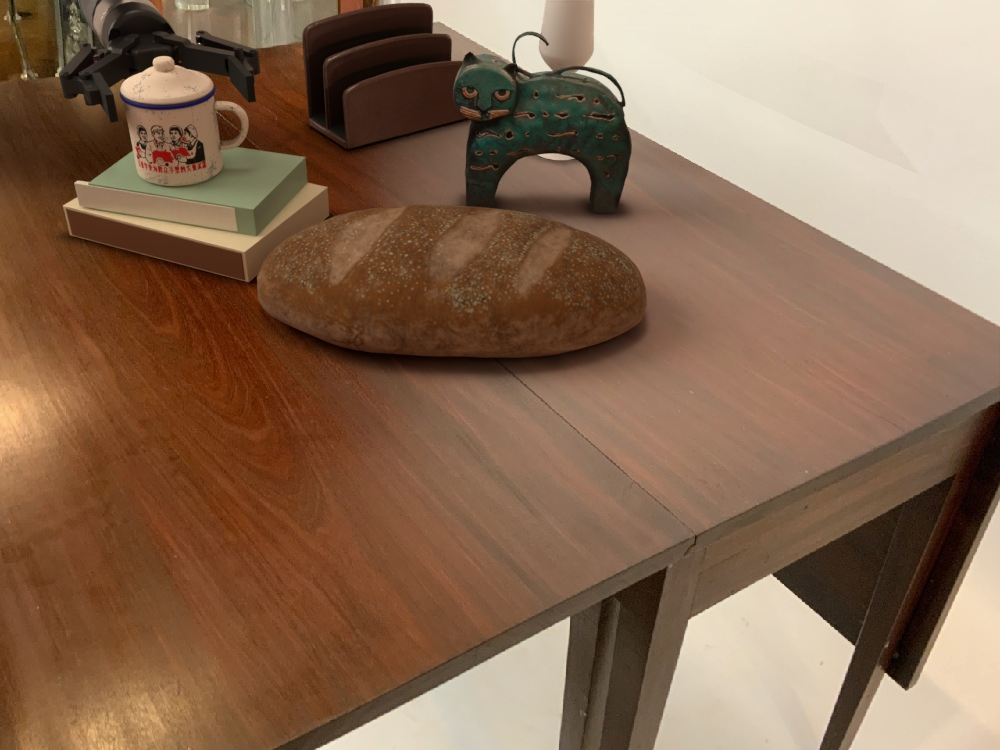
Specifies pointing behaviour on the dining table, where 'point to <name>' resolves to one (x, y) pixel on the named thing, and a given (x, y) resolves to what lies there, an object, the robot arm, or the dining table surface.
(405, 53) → the letter holder
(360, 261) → the bread
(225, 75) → the robot arm
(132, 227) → the book stack
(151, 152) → the teacup with lid
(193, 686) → the dining table surface
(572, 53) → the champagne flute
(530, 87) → the ceramic cat
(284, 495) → the dining table surface
